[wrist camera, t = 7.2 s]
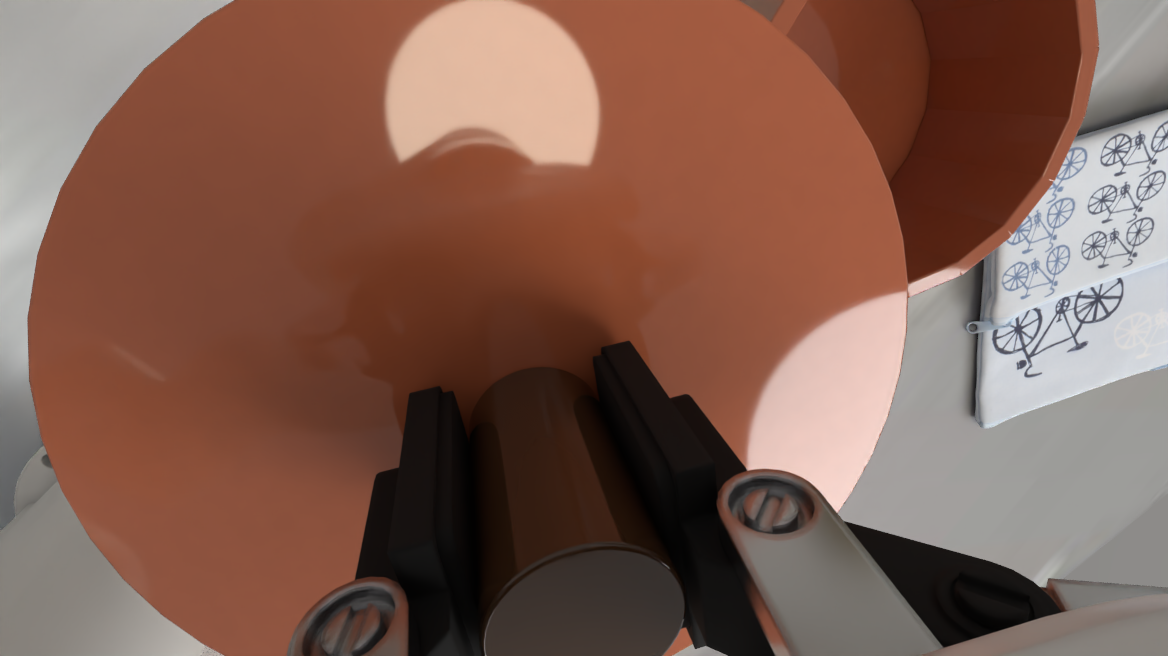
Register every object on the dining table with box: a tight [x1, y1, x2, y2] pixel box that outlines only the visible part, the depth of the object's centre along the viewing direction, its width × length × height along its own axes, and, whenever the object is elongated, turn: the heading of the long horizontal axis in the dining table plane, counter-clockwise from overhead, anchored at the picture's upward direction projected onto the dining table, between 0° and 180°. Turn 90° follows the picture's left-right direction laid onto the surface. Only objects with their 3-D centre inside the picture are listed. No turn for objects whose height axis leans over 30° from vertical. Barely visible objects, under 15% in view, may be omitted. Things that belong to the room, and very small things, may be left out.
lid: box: [28, 0, 908, 656], centre depth 10 cm, size 16×16×6 cm
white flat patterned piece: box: [966, 109, 1168, 428], centre depth 37 cm, size 19×20×2 cm
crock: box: [740, 0, 1099, 298], centre depth 26 cm, size 15×15×8 cm
